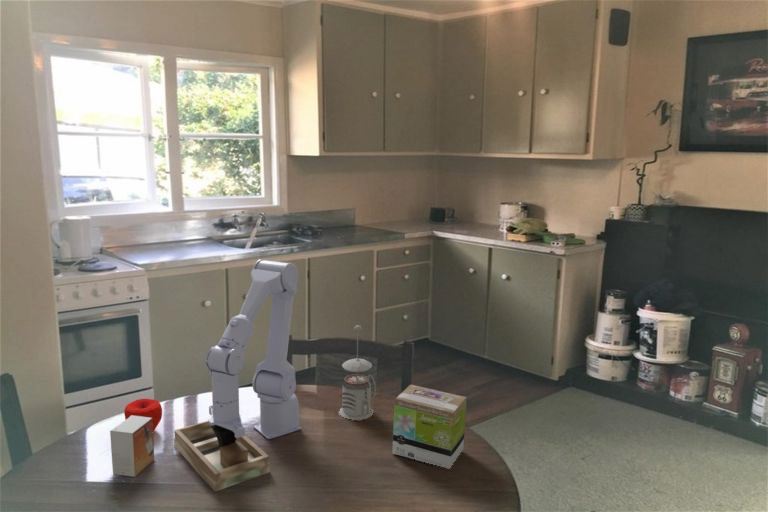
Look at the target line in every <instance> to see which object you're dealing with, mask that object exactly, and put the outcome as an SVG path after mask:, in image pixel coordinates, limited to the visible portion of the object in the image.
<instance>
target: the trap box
mask: <svg viewBox="0 0 768 512" xmlns="http://www.w3.org/2000/svg"><path fill="white" fill-rule="evenodd" d="M211 426H212V425H210V424H209V423H208V420H205V421H201V422H198V423H195V424H192V425H188V426H184V427H181V428H177V429H174V430H173V431H174V438H173V447H174V448H175V449H176V450H177V451H178V450H179V451H178V452H179V453H180V454H181V455H182V457H184V459H185V460H186V461H187V462H188V464H190V466H191V467H192V468H193V469H194V470H195V471H196V472H197V474H199V475H200V477H201V478H202V479H203V480H204V482H206V484H207V485H208V486H209V487H210V488H211V489H212V490H213V491H214V492H215V493H216V492H218V491H222V490H223V489H224V490H225V489H227V488H230V487H233V486H235V485H238V484H241V483H243V482H246V481H249V480H252V479H256V478H258V477H260V476H262V475H266V474H269V473H271V464H270V455H268V454H267V453H266V452H265V451H264V450H263V449H261V448H260V447H259V446H258V445H257V444H255V443H254V442H253V441H252V440H251V439H250V438H249V437H248V436H246V435H245V436H242V437H239V438H237V439H236V442H240V443H241V444H242V445H243V446H244V447H245V448H247V449H248V461H245V462H242V463H239V464H237V465H234V466H231V467H228V468H224V467H223V466H222V465H221V464H220V446H219V443H218V439H217V437H216V435H215V433H214V431H213V429H212V428H211Z"/></svg>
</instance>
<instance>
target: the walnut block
mask: <svg viewBox="0 0 768 512" xmlns="http://www.w3.org/2000/svg"><path fill="white" fill-rule="evenodd" d="M245 461H248V449H247V448H245V447H244V446H243V445H242V444H241V443H240V442H235V443H232V444H229V445H226V446H223V447H220V464H221V465H222V466H223V467H224V468H228V467H231V466H234V465H237V464H239V463H242V462H245Z"/></svg>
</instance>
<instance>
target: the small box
mask: <svg viewBox="0 0 768 512" xmlns="http://www.w3.org/2000/svg"><path fill="white" fill-rule="evenodd" d="M109 433H110V448H111V449H110V452H111V465H112V474H113V475H118V476H125V477H131V478H132V477H134V478H135V477H136V476H138V474H140V473H141V472H142V471H143V470H144V469H145V468H146V467H148V466H149V465H150V464H151V463H153V460H154V461H155V447H154V446H155V445H154V443H155V442H154V431H153V419H152V418H149V417H141V416H133V415H131V416H130V417H129V418H128V419H126V420H123V422H121V423H120V424H119V423H118V424H117V426H115V427H114V428H112V429H110V430H109Z"/></svg>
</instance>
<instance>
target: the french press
mask: <svg viewBox="0 0 768 512" xmlns="http://www.w3.org/2000/svg"><path fill="white" fill-rule="evenodd" d="M362 329H363V328H362V326H361V325H358V324H357V325H355V326H354V330H355V331H356V332H357V334H356V335H357V336H356V342H357V343H356V349H357V350H356V358H351V359H348V360H346V361H344V362H343V363H342V364H341V366H342V368H343V369H344V370H345V371H346V372H350V373H352V374H348V375H346V376H345V377H344V378H343V381H344V382H343V383H342V391H341V392H342V401H341V402H342V405H341V406H342V407H341V408H340V409H339V410H340V411H339V410H338V415H339V416H340V415H341V416H342V417H344V418H343V419H345V418H347V419H352V420H351V421H354V420H357V421H363V420H362V419H365V418H368V417H370V416H372V415H373V416H374V414H375V411H374V409H373V408H372V407H371V405H372V404H371V403H372V401H371V400H373V399H374V398H375V396H376V393H377V391H376V389H377V386H376V382H375V379H374V377H373V375H371V373H368V375H364V374H358V373H363V372H367V371H369V370H371V369H372V367H373V364H372V362H370V361H368V360H366V359H364V358H358V356H359V332H360V331H361V330H362ZM353 373H355V374H353ZM371 379H372V381H373V385H374V393H373V396H372V383H371V382H370V381H371ZM364 386H369V387H364ZM356 387H357V388H356ZM359 387H362V388H359ZM373 411H374V412H373ZM373 413H374V414H373ZM341 416H340V417H341ZM373 416H372V417H373ZM342 417H341V418H342ZM370 418H371V417H370ZM347 419H346V420H347ZM358 419H359V420H358ZM365 420H366V419H365Z"/></svg>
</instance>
